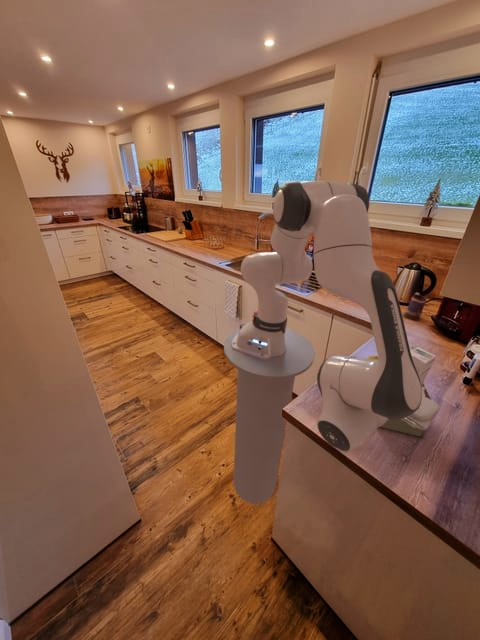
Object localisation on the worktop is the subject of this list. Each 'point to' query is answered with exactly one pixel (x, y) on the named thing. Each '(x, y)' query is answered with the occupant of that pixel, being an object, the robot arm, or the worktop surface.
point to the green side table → (404, 424)
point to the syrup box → (422, 361)
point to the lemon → (373, 357)
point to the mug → (415, 307)
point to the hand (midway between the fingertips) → (401, 377)
